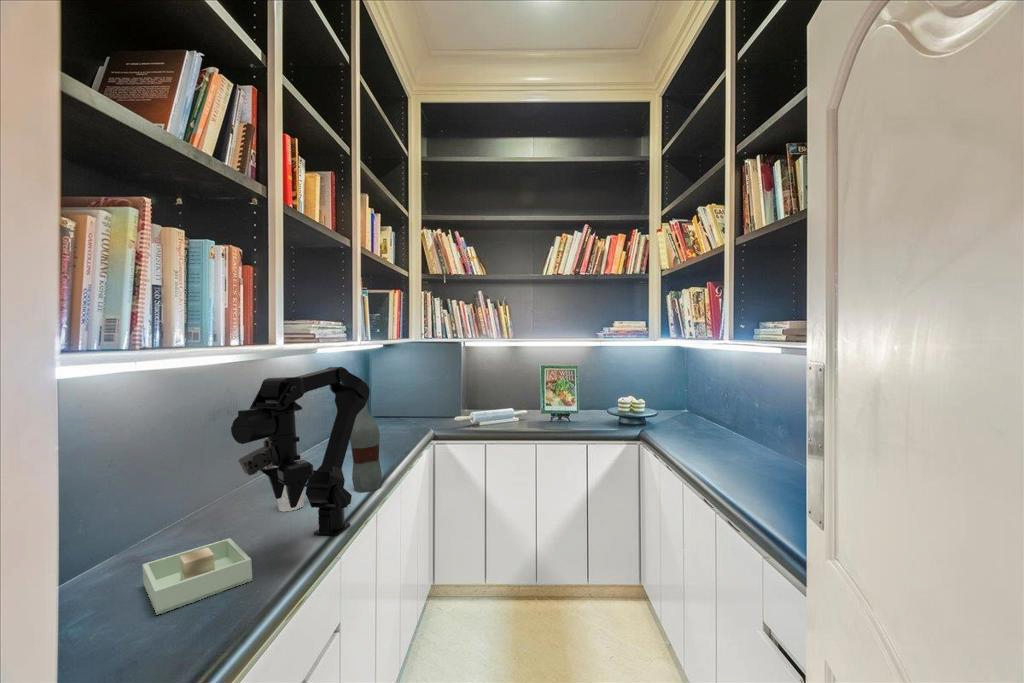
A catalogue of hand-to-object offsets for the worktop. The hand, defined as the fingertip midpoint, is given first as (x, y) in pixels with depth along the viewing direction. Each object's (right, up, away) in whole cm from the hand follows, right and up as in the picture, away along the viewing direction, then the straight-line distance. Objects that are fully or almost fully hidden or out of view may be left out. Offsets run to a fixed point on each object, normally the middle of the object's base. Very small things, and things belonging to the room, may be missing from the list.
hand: (285, 502), depth 105 cm
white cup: (-13, -13, +32) cm, 36 cm away
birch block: (-13, -12, -10) cm, 20 cm away
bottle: (+4, -11, +46) cm, 48 cm away
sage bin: (-13, -13, -10) cm, 21 cm away
